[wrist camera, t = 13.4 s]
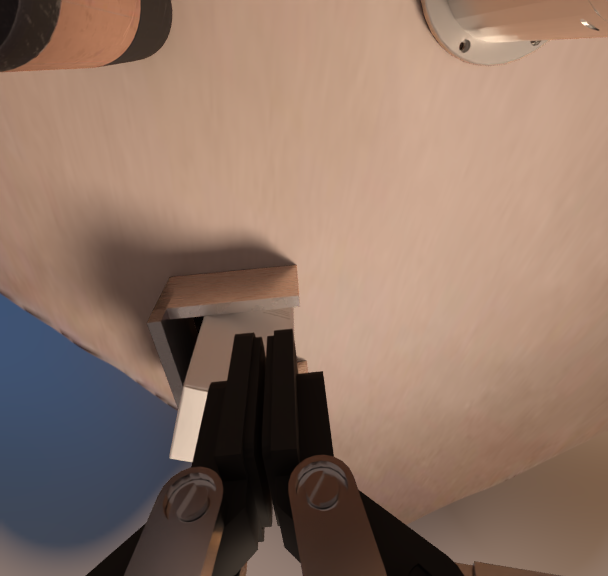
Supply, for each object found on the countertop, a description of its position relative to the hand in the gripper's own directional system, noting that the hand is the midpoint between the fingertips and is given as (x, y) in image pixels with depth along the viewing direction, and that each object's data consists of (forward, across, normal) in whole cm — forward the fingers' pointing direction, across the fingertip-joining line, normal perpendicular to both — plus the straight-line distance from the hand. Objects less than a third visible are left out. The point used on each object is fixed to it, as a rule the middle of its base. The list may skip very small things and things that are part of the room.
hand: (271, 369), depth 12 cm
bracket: (+27, +6, +18) cm, 33 cm away
